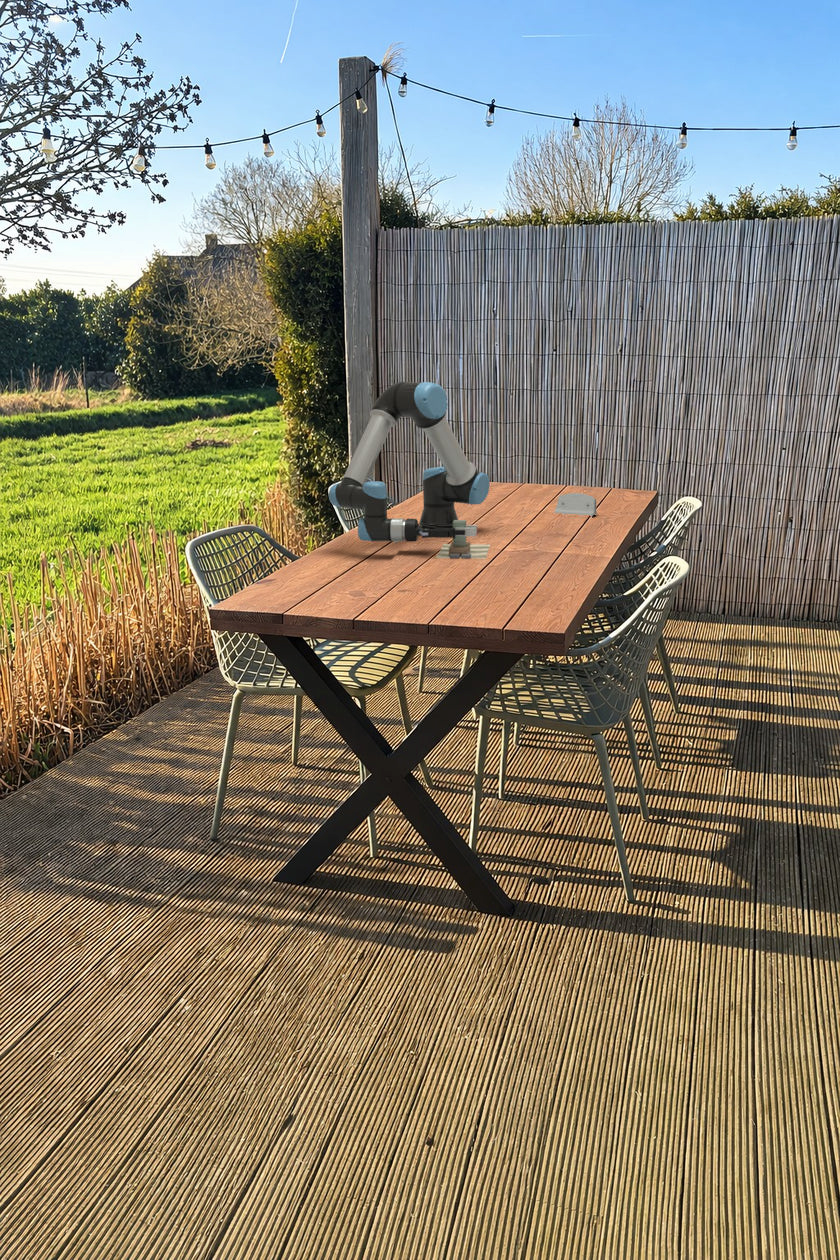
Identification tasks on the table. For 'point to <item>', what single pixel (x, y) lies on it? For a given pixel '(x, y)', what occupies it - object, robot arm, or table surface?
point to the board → (475, 552)
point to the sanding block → (459, 540)
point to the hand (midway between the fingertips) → (476, 530)
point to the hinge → (576, 504)
